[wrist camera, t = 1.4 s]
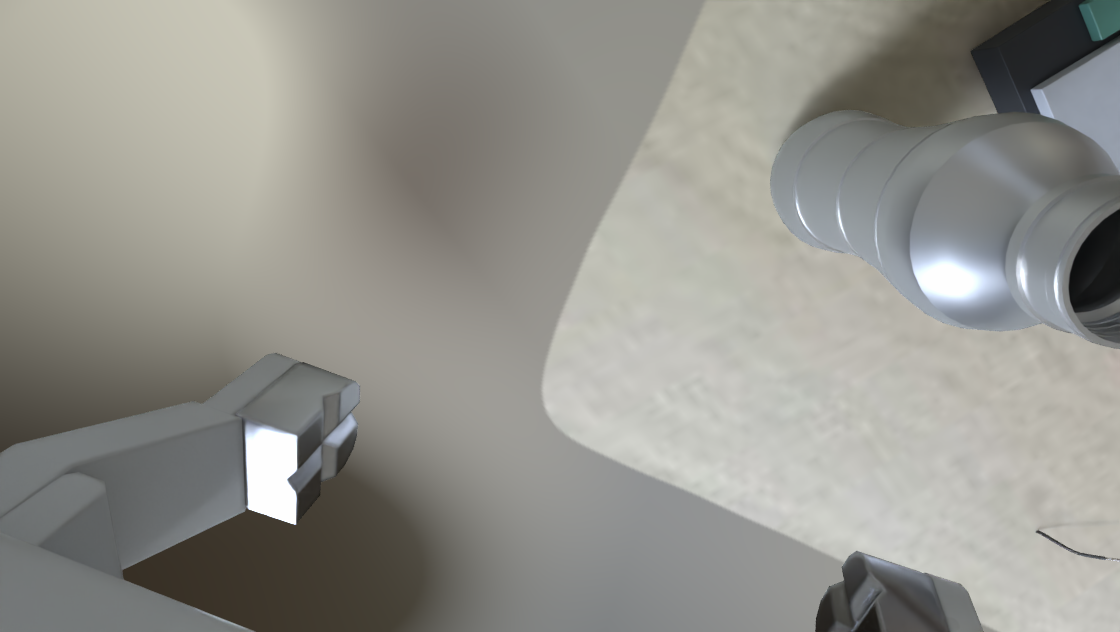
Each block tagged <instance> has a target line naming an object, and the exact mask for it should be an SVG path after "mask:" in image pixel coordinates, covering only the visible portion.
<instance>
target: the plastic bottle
mask: <svg viewBox="0 0 1120 632" xmlns="http://www.w3.org/2000/svg"><path fill="white" fill-rule="evenodd" d="M770 186H771V196H772V199H773V203H774V206H775V208H776V210H777V212H778V214H779V216H780V218H781V220H782V221H783V223H784V224H785V225H786V227H787V228H788V229H789V230H790V232H791V233H792V234H794V235H795V236H796V237H797V238H798V239H800V240H801V241H803V242H805V243H807V244H809V245H810V246H812V247H816V248H819V249H823V250H827V251H831V252H837V253H849V254H852V255H855V256H858V257H860V258H862V259H863V260H865V261H866V262H867V263H869V264H870V265H872V266H873V267H875V268H876V269H877V270H878V271H879V272H880V273H881V274H882V275H883V276H884V277H885V278H886V279H887V280H888V281H889V282H890V283H891V284H892V285H893V286H894V287H895V288H896V289H897V290H898V291H899V293H900V294H902V295H903V296H904V297H905V298H906V299H908V300H909V301H910V302H911V303H912V304H914V305H915V306H916V307H918V308H919V309H920V310H922V311H923V312H924V313H925V314H927V315H929V316H931V317H933V318H935V319H936V320H938V321H940V322H942V323H945V324H949V325H952V326H956V327H959V328H966V329H977V330H988V331H1010V330H1020V329H1024V328H1028V327H1031V326H1035V325H1038V324H1042V323H1043V324H1045V325H1047V326H1049V327H1051V328H1053V329H1056V330H1060V331H1063V332H1067V333H1074V334H1076V335H1078V336H1080V337H1082V338H1084V339H1086V340H1088V341H1090V342H1092V343H1096V344H1099V345H1103V346H1106V347H1111V348H1115V349H1120V173H1119V171H1118V169H1117V167H1116V166H1115V164H1114V163H1113V161H1112V159H1111V158H1110V156H1109V155H1108V153H1107V152H1106V151H1105V150H1104V149H1103V148H1102V147H1101V146H1100V145H1099V144H1097V143H1096V142H1095V141H1094V140H1093V139H1091V138H1090V137H1088V136H1086V135H1085V134H1083V133H1081V132H1079V131H1078V130H1076V129H1074V128H1072V127H1070V126H1069V125H1067V124H1065V123H1063V122H1061V121H1059V120H1057V119H1053V118H1050V117H1047V116H1044V115H1040V114H1036V113H1024V112H1009V113H999V114H990V115H982V116H974V117H971V118H966V119H962V120H958V121H954V122H949V123H945V124H941V125H937V126H929V127H910V128H909V127H905V126H901V125H897V124H895V123H893V122H891V121H889V120H888V119H886V118H883V117H880V116H877V115H874V114H871V113H867V112H864V111H857V110H842V111H834V112H831V113H828V114H825V115H822V116H819V117H818V118H816V119H814V120H812V121H810V122H808V123H806V124H805V125H803V126H801V127H800V128H799V129H797V130H796V131H795V132H794V133H793V134H791V135H790V137H789V138H788V139H787V140H786V141H785V143H784V144H783V145H782V147H781V148H780V150H779V152H778V154H777V156H776V158H775V161H774V164H773V167H772V172H771V179H770Z"/></svg>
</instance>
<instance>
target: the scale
mask: <svg viewBox="0 0 1120 632" xmlns="http://www.w3.org/2000/svg"><path fill="white" fill-rule="evenodd" d="M971 54H972V56H973V58H974V60H975V63H976V65H977V67H978V69H979V72H980V74H981V76H982V78H983V80H984V83H985V85H986V87H987V89H988V92H989V94H990V96H991V98H992V101H993V103H994V105H995V107H996V110H997V112H998V114H999V113H1009V112H1024V113H1036V114H1040V115H1044V116H1047V117H1050V118H1053V119H1057V120H1059V121H1061V122H1063V123H1065V124H1067V125H1069V126H1070V127H1072V128H1074V129H1076V130H1078V131H1079V132H1081V133H1083V134H1085V135H1086V136H1088V137H1090V138H1091V139H1093V140H1094V141H1095V142H1096V143H1097V144H1099V145H1100V146H1101V147H1102V148H1103V149H1104V150H1105V151H1106V152H1107V153H1108V155H1109V156H1110V158H1111V159H1112V161H1113V163H1114V164H1115V166H1116V167H1117V169H1118V171H1119V173H1120V0H1051V1H1049V2H1048V3H1046V4H1044V5H1043V6H1041V7H1040V8H1038V9H1036V10H1035V11H1033V12H1032V13H1030V14H1029V15H1027V16H1025V17H1024V18H1022V19H1021V20H1019V21H1017V22H1016V23H1014V24H1013V25H1011V26H1009V27H1008V28H1006V29H1005V30H1003V31H1001V32H1000V33H998V34H997V35H995V36H993V37H992V38H990V39H989V40H987V41H985V42H984V43H982V44H981V45H979V46H978V47H976V48H974V49H973V50H971Z"/></svg>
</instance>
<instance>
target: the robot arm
mask: <svg viewBox="0 0 1120 632" xmlns="http://www.w3.org/2000/svg"><path fill="white" fill-rule="evenodd" d="M359 402H360V386H359V385H358V383H357V382H356V381H353V380H350V379H348V378H345V377H342V376H340V375H337V374H334V373H331V372H329V371H326V370H323V369H320V368H318V367H315V366H312V365H310V364H307V363H304V362H299V361H297V360H294V359H291V358H289V357H286V356H283V355H280V354H277V353H274V354H268V355H266V356H264V357H263V358H262V359H261V360H259V361H258V362H257V363H255V364H254V365H253V366H251V367H250V368H249V369H247V370H246V371H245V372H244V373H242V374H241V375H240V376H238V377H237V378H236V379H235V380H233V381H232V382H230V383H229V384H228V385H226V386H225V387H224V388H223V389H221V390H220V391H219V392H218V393H216V394H215V395H213V396H212V397H211V398H210V399H208V400H207V401H206V402H204V403H203V404H200V403H197V402H189V403H184V404H180V405H176V406H172V407H168V408H163V409H160V410H155V411H151V412H147V413H143V414H139V415H135V416H130V417H126V418H122V419H118V420H114V421H110V422H105V423H101V424H97V425H93V426H89V427H85V428H81V429H76V430H72V431H68V432H64V433H60V434H56V435H52V436H48V437H43V438H39V439H35V440H31V441H27V442H23V443H18V444H14V445H13V446H11V447H9V448H8V449H6V450H5V451H3V452H2V453H0V632H255V631H252V630H250V629H247V628H245V627H242V626H239V625H237V624H235V623H232V622H230V621H227V620H224V619H222V618H219V617H217V616H214V615H212V614H209V613H207V612H204V611H201V610H199V609H196V608H194V607H191V606H189V605H186V604H184V603H181V602H178V601H176V600H173V599H171V598H168V597H166V596H163V595H160V594H158V593H155V592H153V591H150V590H148V589H145V588H143V587H140V586H138V585H135V584H133V583H130V582H127V581H125V580H124V579H123V574H122V570H123V569H125V568H127V567H129V566H131V565H134V564H136V563H138V562H140V561H142V560H144V559H146V558H148V557H150V556H152V555H154V554H157V553H159V552H161V551H163V550H165V549H167V548H169V547H171V546H173V545H175V544H177V543H179V542H181V541H183V540H186V539H188V538H190V537H192V536H194V535H196V534H198V533H200V532H202V531H204V530H206V529H208V528H211V527H213V526H215V525H217V524H219V523H221V522H223V521H225V520H227V519H229V518H232V517H234V516H236V515H238V514H240V513H242V512H244V511H245V508H247V509H250V510H253V511H256V512H260V513H262V514H266V515H269V516H271V517H275V518H277V519H281V520H283V521H286V522H290V523H292V524H297V522H298V521H299V520H300V519H301V518H302V516H303V515H304V514H305V513H306V512H307V510H308V509H309V508H310V507H311V506H312V504H313V503H314V502H315V501H316V500H317V498H318V497H319V496H320V488H321V482H323V481H325V480H328V479H331V478H333V477H336V476H337V474H338V473H339V472H340V470H341V469H342V468H343V467H344V465H345V464H346V462H347V460H348V458H349V456H350V454H351V452H352V450H353V447H354V444H355V441H356V437H357V429H358V423H357V421H356V419H355V417H354V416H353V414H352V412H351V411H352V410H353V409H354V408H355V407H356V406H357V405H358V404H359ZM842 572H843V577H844V581H842V582H839V583H837V584H834V585H832V586H829V588H828V589H827V591H826V593H825V595H824V596H823V598H822V600H821V602H820V606H819V610H818V614H817V617H816V630H815V631H816V632H984V631H983V628H982V626H981V623H980V621H979V618H978V616H977V613H976V611H975V608H974V606H973V603H972V601H971V598H970V596H969V593H968V592H967V590H966V589H965V588H964V587H963V586H962V585H961V584H959V583H956V582H953V581H950V580H947V579H944V578H940V577H937V576H934V575H931V574H928V573H922V572H919V571H916V570H913V569H910V568H907V567H904V566H901V565H898V564H895V563H892V562H889V561H886V560H883V559H880V558H877V557H874V556H871V555H868V554H865V553H862V552H859V551H856V552H854V553H853V554H851V555H850V556H849V557H848V558H847V560H846V561H845V563H844V564H843V566H842Z"/></svg>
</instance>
